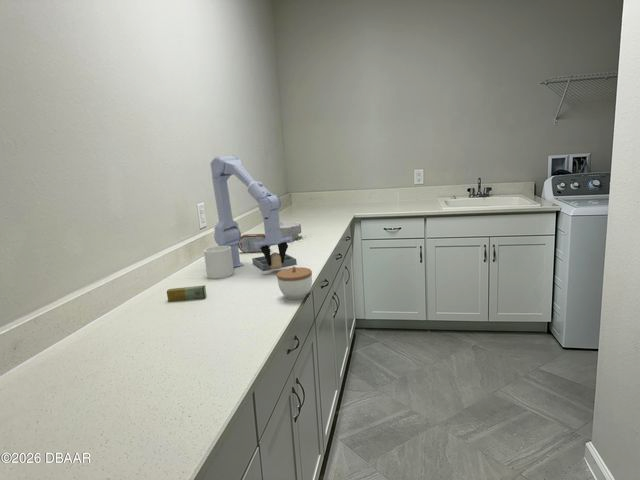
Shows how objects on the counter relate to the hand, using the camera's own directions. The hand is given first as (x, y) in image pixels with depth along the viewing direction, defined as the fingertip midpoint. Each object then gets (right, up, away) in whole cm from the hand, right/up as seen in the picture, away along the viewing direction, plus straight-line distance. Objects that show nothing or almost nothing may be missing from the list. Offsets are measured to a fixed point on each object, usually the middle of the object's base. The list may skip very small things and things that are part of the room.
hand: (275, 263), depth 160 cm
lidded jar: (+9, -9, -28) cm, 31 cm away
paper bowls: (0, +9, +58) cm, 59 cm away
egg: (0, -1, 0) cm, 2 cm away
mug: (-21, -4, +3) cm, 21 cm away
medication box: (-26, -10, -23) cm, 36 cm away
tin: (-13, +3, +35) cm, 37 cm away
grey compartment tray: (-2, -1, +12) cm, 12 cm away
